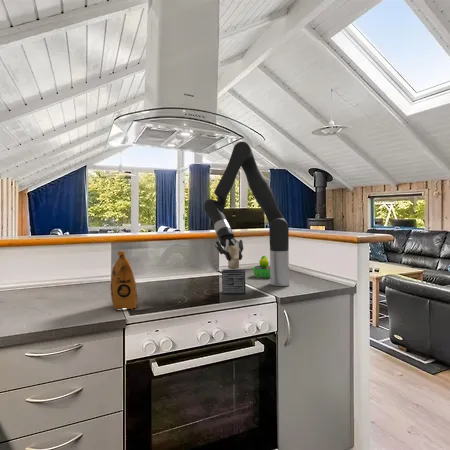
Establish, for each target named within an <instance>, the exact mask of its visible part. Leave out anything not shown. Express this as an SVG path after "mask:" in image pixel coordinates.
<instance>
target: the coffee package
mask: <svg viewBox="0 0 450 450" xmlns="http://www.w3.org/2000/svg"><path fill="white" fill-rule="evenodd" d="M126 255H127V254H126V252H125V251H123V250H119V251H118V252H117V256H118V258H117V260H116V262H115V263H114V265H113V267H112V270H111V278H110V295H111V302H112V306H113V307H114V309H115V310H116V309H122V308H127V309H131V310H134V309H133V308H135V309H137V303H138V292H137V290H138V289H137V282H136V279H135V275H134V272H133V268H132V267H131V263H130V261H129V260H128V258H127V257H126Z"/></svg>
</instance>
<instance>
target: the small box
mask: <svg viewBox="0 0 450 450" xmlns="http://www.w3.org/2000/svg"><path fill="white" fill-rule="evenodd" d="M221 278H222V279H221V282H222V283H221V285H222V286H221V291H222V292H221V295H246V290H247V289H246V286H247V285H246V269H243V268H242V269H241V268H238V269H229V268H228V269H222V271H221Z"/></svg>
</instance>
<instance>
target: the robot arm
mask: <svg viewBox="0 0 450 450" xmlns="http://www.w3.org/2000/svg"><path fill="white" fill-rule="evenodd" d="M240 168H241V169H242V170H243V172H244V174H245V177H246V179H247V180H246V181H247V184H248V187H249V190H250V192H251V193H252V196H253V197H254V199H255V201H256V203H257V204H258V206H259V207H260V209H261V210H262V211H263V213H264V214H265V217H266V219H267V222H268V225H269V231H268V233H269V266H270V278H269V279H270V280H269V284H270V285H271V286H274V287H287V286H290V265H289V264H290V263H289V262H290V261H289V260H290V259H289V258H290V255H289V253H290V252H289V244H290V243H289V238H290V235H289V234H290V233H289V232H290V231H289V223H288V222H287V220H286V219H285V218H284V216H283V214H282V213H281V211H280V209H279V207H278V205H277V202H276V199H275V196H274V193H273V190H272V188H271V187H270V185H269V183H268V180H267V179H266V177H265V175H264V174H263V172H262V171H261V169H260V168H259V166H258V165H257V162H256V159H255V157H254V153H253V150H252V148H251V146H250V144H249V143H248V142H246V141H238V142H236V144H234V146H233V149H232V151H231V155H230V157H229V160H228V163H227V165H226V167H225V169H224V172H223V174H222V176H221V178H220V180H219V182H218V184H217V185H216V188H215V189H214V192H213V193H214V195H215V196H216V197H217V198H216V199H217V200H215V199H213V198H209V199H206V200H205V201H204V203H203V209H204V212H205V214H206V216H208V218H209V220H211V221H212V222H211V223H212V226H213V228H214V231H215V234H216V236H217V239H218V241H217V240H216V241H215V244H214V247H215V249H217V251H218V253H219V254H220V255H224V257H225V258H226V260H227V262H228V261H231V256H230V254H229V252H228V246H239V261H242V259H243V257H244V256H243V254H242V252H243V250H244V244H243V243H244V242H243V240H242V239H239V240H237V239H236V238H235V235H234V232H233V230H232V227H231V226H230V223H229V222H228V220H227V217H226V215H225V214H224V210H225V207H226V203H227V199H228V195H229V193H230V192H231V190H232V188H233V187H234V183H235V180H236V178H237V175H238V173H239V171H240Z"/></svg>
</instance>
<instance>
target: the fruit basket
mask: <svg viewBox="0 0 450 450" xmlns="http://www.w3.org/2000/svg"><path fill="white" fill-rule="evenodd" d="M252 270H253V274H254V277H255V278H269V279H270V260H269V259H268V257H267V256H266V255H262V256H261V258H260V259H259V265H256V266H254V267H252Z"/></svg>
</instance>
